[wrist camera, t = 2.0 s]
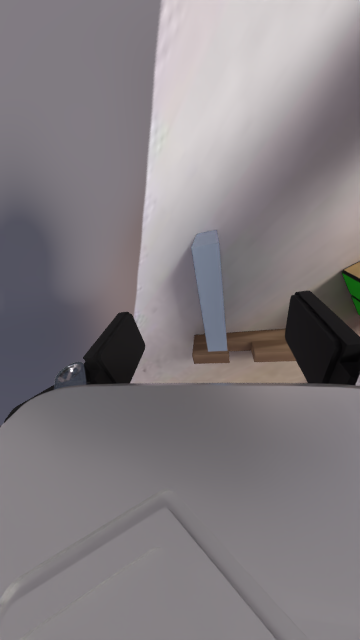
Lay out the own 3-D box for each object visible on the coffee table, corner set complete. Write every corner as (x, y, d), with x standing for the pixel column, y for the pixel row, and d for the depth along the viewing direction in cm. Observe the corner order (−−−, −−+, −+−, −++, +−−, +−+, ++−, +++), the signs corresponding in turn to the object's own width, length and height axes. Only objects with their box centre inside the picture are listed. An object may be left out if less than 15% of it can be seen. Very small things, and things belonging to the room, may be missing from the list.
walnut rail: (194, 335, 38) (192, 355, 33) (285, 328, 33) (298, 351, 29) (196, 343, 39) (194, 363, 34) (284, 338, 35) (296, 360, 30)
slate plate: (196, 233, 26) (191, 247, 19) (216, 229, 25) (219, 242, 18) (208, 319, 35) (208, 351, 27) (223, 318, 34) (227, 350, 27)
